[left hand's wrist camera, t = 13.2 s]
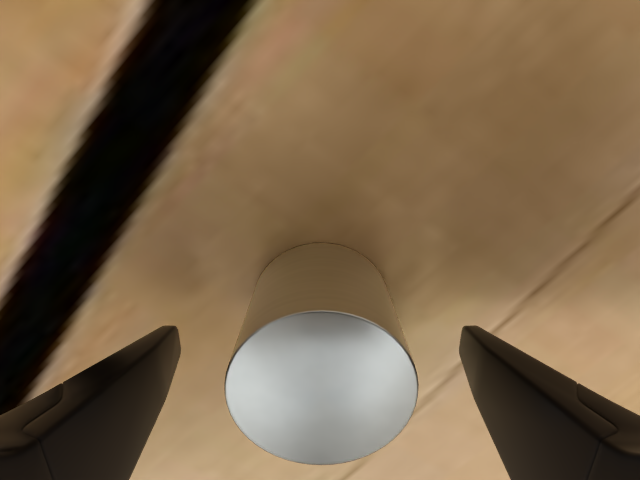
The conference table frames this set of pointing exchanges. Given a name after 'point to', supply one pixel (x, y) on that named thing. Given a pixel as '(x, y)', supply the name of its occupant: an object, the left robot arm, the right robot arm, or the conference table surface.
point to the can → (321, 359)
